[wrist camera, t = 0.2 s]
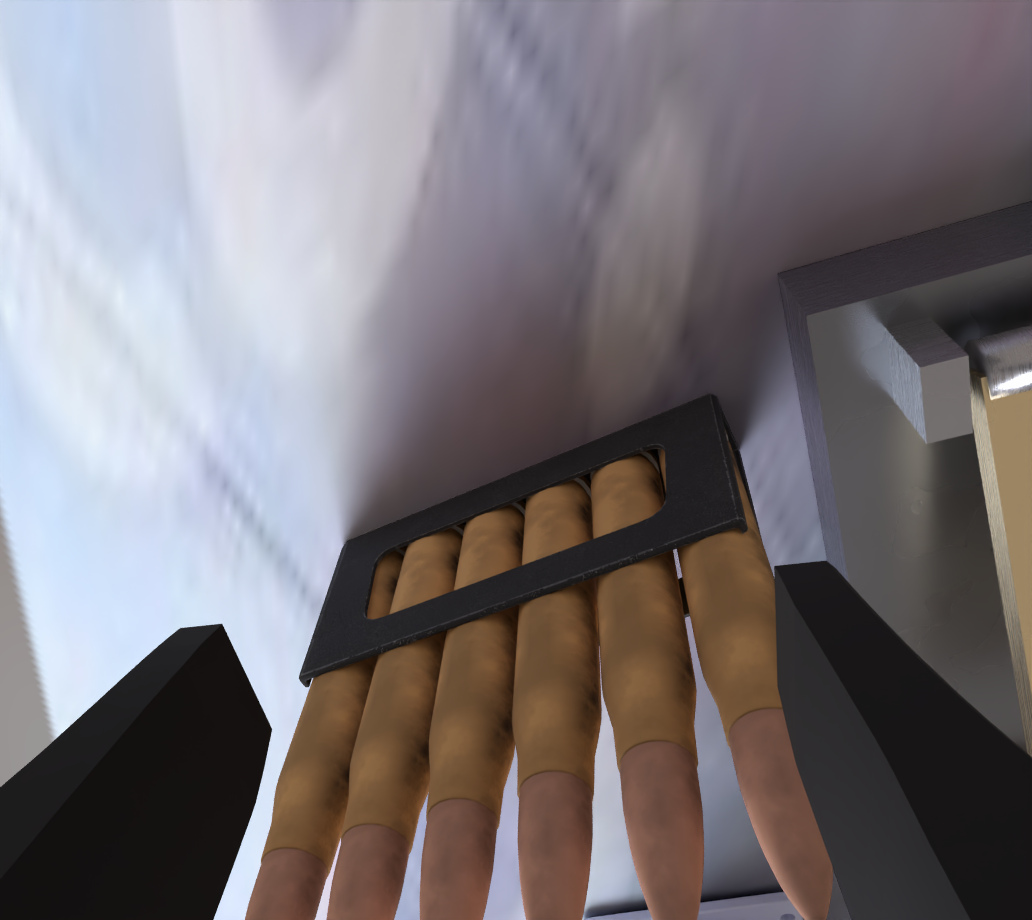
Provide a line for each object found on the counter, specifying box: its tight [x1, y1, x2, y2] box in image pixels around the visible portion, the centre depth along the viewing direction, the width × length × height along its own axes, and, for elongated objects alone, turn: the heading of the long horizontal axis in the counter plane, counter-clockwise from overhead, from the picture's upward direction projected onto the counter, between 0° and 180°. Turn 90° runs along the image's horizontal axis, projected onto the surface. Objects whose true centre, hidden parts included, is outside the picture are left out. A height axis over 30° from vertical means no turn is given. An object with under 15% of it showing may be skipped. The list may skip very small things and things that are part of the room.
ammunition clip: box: [245, 394, 833, 920], centre depth 16 cm, size 11×2×12 cm, turn 117°
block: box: [778, 201, 1032, 753], centre depth 20 cm, size 19×8×4 cm, turn 18°
